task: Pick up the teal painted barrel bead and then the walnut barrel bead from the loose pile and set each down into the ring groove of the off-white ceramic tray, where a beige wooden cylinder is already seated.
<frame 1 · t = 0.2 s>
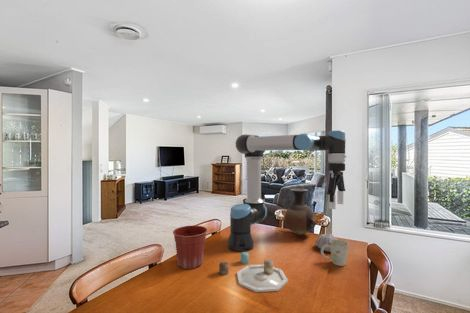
hand: (336, 206, 114), 28 cm above the table, fingers open, 13 cm apart
teal bead: (244, 264, 113), on the table
sea urchin shell: (328, 249, 132), on the table
beige wooden cylinder: (268, 272, 103), point 1 cm above the table, touching groove tray
flower pot: (190, 263, 114), on the table
vase: (299, 235, 154), on the table
walnut bead: (223, 275, 103), on the table
mug: (334, 263, 115), on the table
groove tray: (261, 280, 99), on the table
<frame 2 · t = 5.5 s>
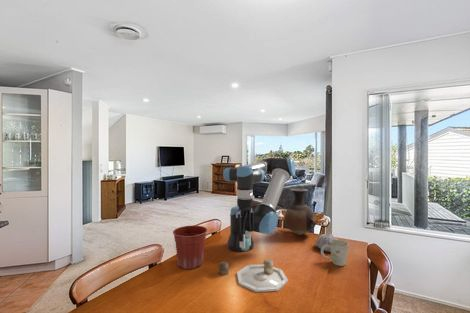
hand: (245, 246, 113), 9 cm above the table, fingers closed on teal bead, 4 cm apart
teal bead: (245, 248, 113), point 7 cm above the table, touching gripper
everything else where it was.
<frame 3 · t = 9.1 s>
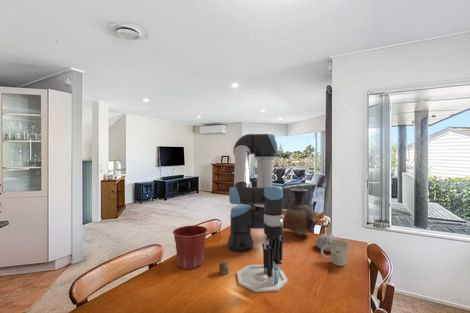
hand: (273, 281, 95), 1 cm above the table, fingers closed on groove tray, teal bead, 3 cm apart
teal bead: (272, 282, 95), point 1 cm above the table, touching gripper, groove tray
everything else where it was.
when the fingers open (2 cm above the table, at t = 10.0 s): teal bead stays where it is, resting on groove tray.
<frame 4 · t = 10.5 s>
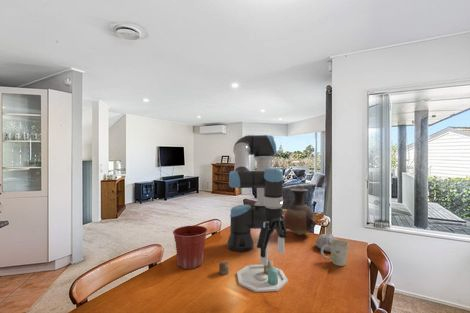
hand: (272, 258, 96), 11 cm above the table, fingers open, 13 cm apart
teal bead: (272, 282, 95), point 1 cm above the table, touching groove tray
everything else where it was.
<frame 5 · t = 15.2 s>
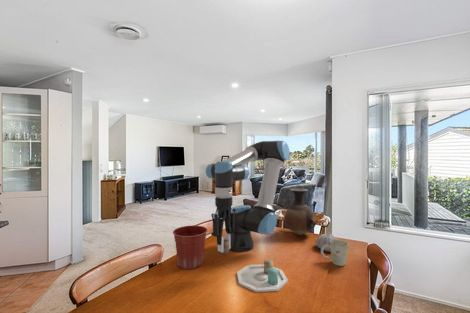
hand: (224, 249, 103), 11 cm above the table, fingers closed on walnut bead, 4 cm apart
walnut bead: (224, 252, 103), point 10 cm above the table, touching gripper
everything else where it was.
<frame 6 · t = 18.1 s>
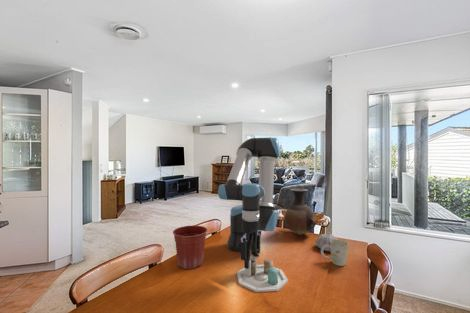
hand: (250, 272, 102), 1 cm above the table, fingers closed on groove tray, walnut bead, 4 cm apart
walnut bead: (250, 273, 102), point 1 cm above the table, touching gripper
everything else where it was.
when the fingers open (2 cm above the table, at t = 19.0 s): walnut bead stays where it is, resting on groove tray.
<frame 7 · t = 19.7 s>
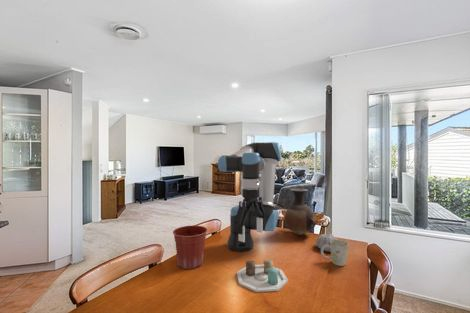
hand: (251, 236, 103), 17 cm above the table, fingers open, 13 cm apart
walnut bead: (250, 273, 102), point 1 cm above the table, touching groove tray
everything else where it was.
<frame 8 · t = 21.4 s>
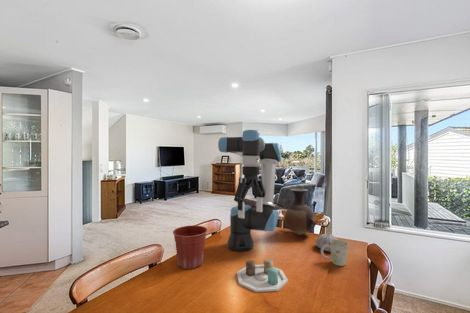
hand: (250, 214, 102), 27 cm above the table, fingers open, 13 cm apart
nothing on the table moved.
at the end: teal bead 0.2 cm from the target spot on the groove tray, point 1.0 cm above the groove tray's base; walnut bead 0.3 cm from the target spot on the groove tray, point 1.0 cm above the groove tray's base; beige wooden cylinder 0.0 cm from the target spot on the groove tray, point 1.0 cm above the groove tray's base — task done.
